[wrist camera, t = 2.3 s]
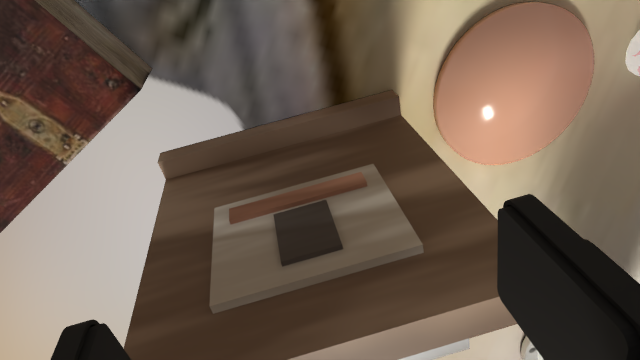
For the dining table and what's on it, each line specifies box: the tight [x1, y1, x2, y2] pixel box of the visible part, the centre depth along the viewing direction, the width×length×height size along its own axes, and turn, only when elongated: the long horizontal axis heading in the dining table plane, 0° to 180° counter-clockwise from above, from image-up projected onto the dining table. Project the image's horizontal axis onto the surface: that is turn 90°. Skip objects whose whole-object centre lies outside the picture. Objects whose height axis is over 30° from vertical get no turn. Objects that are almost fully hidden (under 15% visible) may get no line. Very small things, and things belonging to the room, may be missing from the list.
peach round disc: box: [433, 2, 594, 165], centre depth 35 cm, size 13×13×1 cm
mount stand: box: [124, 90, 517, 360], centre depth 27 cm, size 10×18×20 cm, turn 102°
